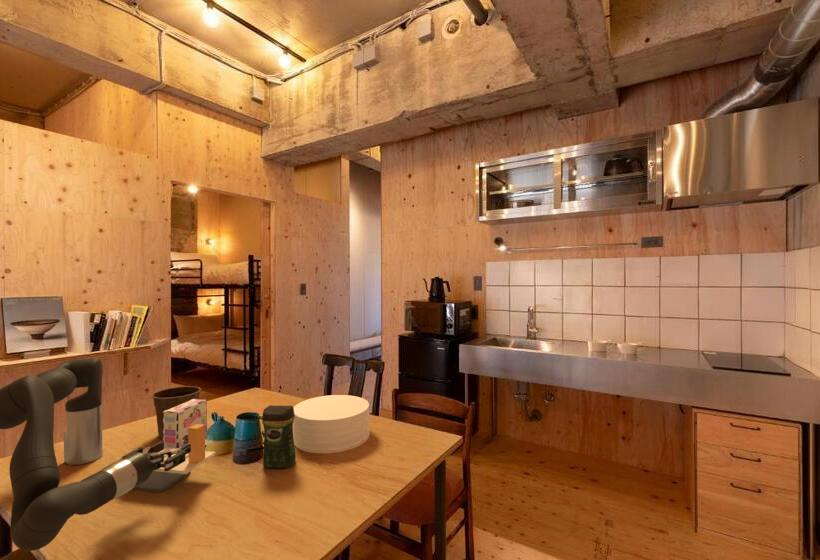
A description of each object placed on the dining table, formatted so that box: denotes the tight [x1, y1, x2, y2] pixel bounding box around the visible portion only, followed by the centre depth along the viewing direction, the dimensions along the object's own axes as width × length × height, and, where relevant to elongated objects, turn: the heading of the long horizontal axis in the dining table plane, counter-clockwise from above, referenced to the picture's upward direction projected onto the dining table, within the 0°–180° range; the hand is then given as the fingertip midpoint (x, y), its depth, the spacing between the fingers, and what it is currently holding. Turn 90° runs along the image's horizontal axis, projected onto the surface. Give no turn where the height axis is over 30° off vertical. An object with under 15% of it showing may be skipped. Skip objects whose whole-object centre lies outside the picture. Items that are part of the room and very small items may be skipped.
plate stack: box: [293, 394, 370, 454], centre depth 145 cm, size 28×28×12 cm
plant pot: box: [151, 385, 202, 440], centre depth 150 cm, size 16×16×16 cm
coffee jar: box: [261, 405, 296, 469], centre depth 124 cm, size 10×8×19 cm
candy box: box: [162, 398, 208, 449], centre depth 133 cm, size 14×6×16 cm, turn 168°
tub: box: [132, 471, 191, 493], centre depth 115 cm, size 18×11×6 cm, turn 79°
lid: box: [154, 424, 216, 474], centre depth 113 cm, size 19×12×11 cm, turn 79°
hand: (176, 446), depth 107 cm, fingers open, 8 cm apart
